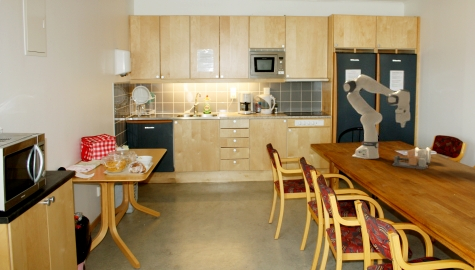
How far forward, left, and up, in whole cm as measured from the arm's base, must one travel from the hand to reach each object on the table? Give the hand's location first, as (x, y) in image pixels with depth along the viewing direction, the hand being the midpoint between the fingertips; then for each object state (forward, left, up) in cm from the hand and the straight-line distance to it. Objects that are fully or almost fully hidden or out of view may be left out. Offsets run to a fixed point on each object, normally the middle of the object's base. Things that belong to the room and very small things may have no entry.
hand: (402, 127), depth 358 cm
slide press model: (+10, -9, -29) cm, 32 cm away
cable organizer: (+12, +12, -29) cm, 34 cm away
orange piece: (+13, -9, -27) cm, 32 cm away
